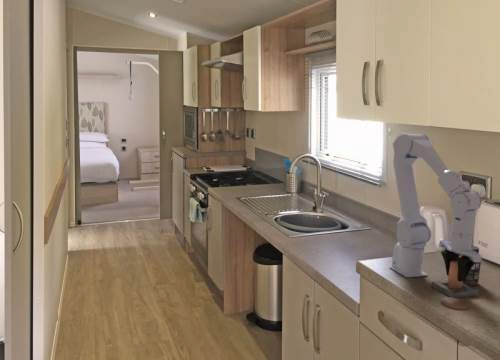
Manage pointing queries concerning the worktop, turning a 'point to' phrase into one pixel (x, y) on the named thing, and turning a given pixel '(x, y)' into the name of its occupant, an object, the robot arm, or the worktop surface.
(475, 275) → the supplement bottle
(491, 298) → the worktop surface
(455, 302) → the coaster
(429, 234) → the robot arm
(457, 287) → the peg
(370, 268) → the worktop surface
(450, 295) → the eye block
